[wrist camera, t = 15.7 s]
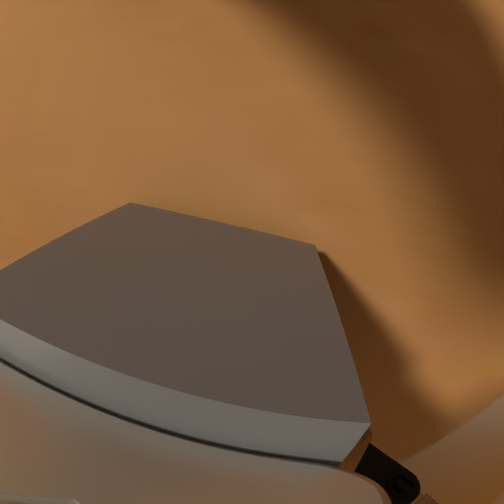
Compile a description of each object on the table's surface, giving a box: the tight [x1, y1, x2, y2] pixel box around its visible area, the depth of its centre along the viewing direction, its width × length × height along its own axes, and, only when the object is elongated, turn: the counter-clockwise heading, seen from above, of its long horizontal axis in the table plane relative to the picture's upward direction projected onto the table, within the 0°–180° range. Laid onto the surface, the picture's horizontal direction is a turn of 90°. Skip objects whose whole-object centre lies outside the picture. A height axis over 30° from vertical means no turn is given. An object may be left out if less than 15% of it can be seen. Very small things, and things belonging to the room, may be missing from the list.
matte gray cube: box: [0, 203, 371, 467], centre depth 9 cm, size 8×8×9 cm
